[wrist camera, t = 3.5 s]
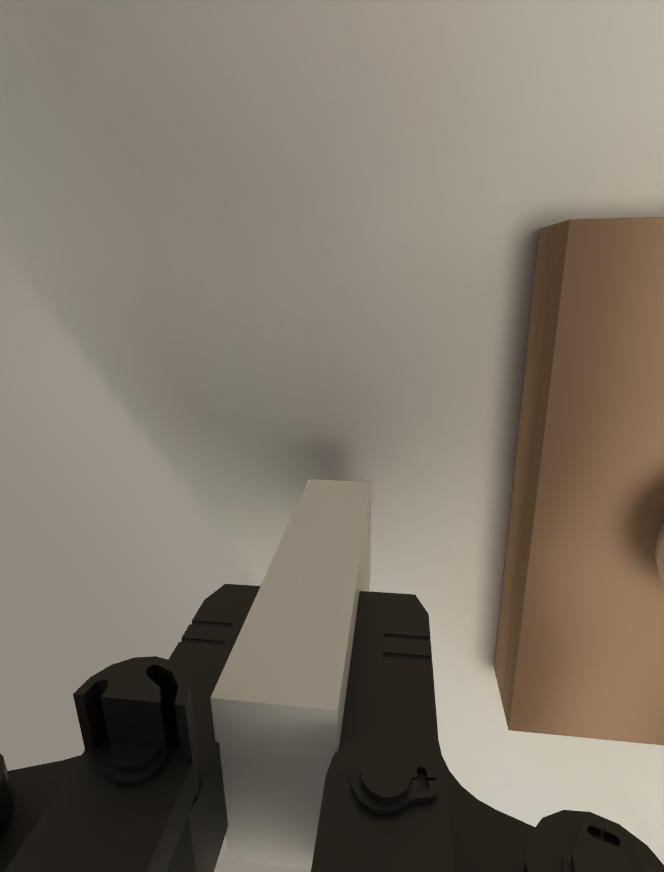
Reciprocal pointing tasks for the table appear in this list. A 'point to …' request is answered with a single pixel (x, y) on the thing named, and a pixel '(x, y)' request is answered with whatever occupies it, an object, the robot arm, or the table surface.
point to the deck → (589, 491)
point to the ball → (660, 554)
